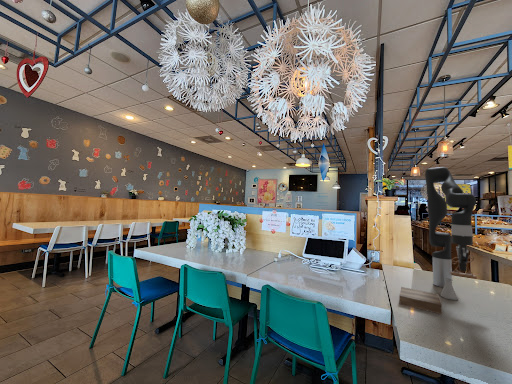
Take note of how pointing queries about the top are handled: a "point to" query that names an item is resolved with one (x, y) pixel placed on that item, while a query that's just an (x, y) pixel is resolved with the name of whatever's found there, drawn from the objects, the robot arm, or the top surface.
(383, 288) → the top surface
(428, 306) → the walnut plinth
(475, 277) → the gingerbread man figurine
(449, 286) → the flask
